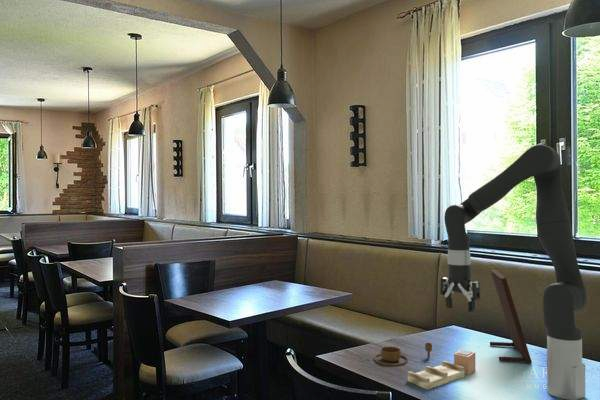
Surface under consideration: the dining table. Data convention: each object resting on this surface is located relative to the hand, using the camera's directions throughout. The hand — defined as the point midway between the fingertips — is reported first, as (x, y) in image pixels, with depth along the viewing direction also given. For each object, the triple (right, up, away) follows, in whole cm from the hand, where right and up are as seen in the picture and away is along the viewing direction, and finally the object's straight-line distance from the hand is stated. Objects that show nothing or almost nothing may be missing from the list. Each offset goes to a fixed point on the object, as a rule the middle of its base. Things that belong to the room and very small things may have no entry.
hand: (460, 310), depth 168 cm
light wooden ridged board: (-11, -20, -10) cm, 25 cm away
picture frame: (+23, -20, +14) cm, 33 cm away
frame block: (+1, -20, -3) cm, 20 cm away
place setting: (-19, -21, +6) cm, 28 cm away
